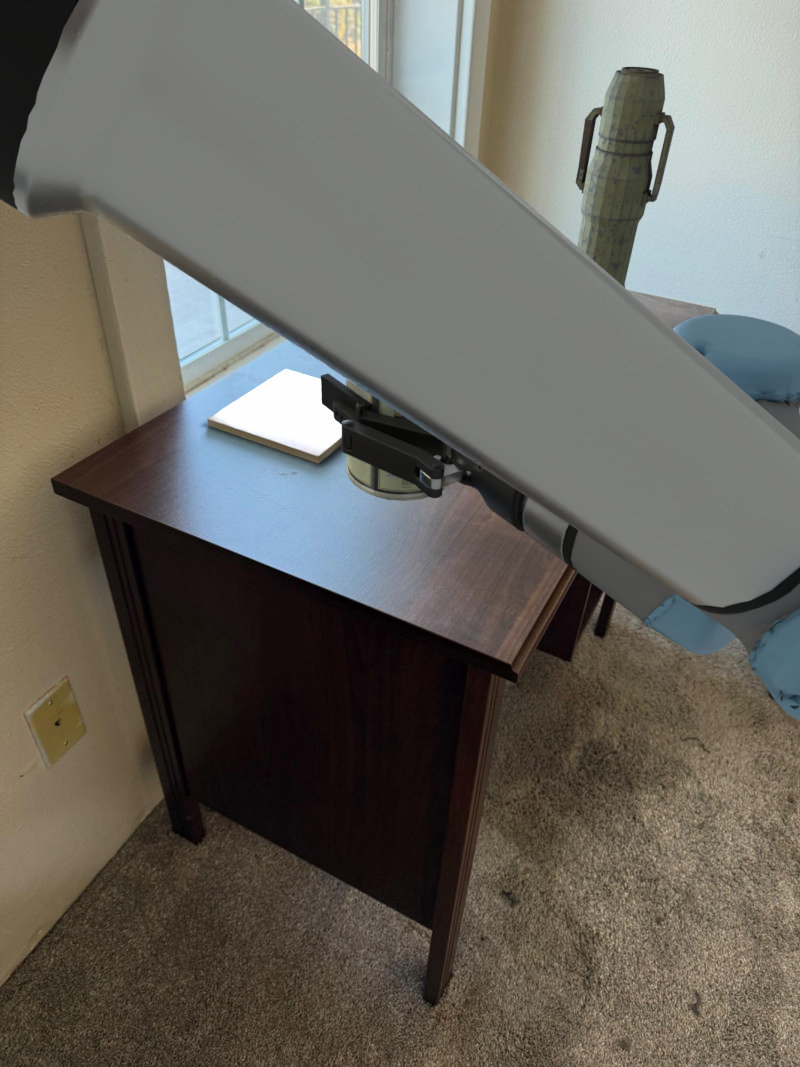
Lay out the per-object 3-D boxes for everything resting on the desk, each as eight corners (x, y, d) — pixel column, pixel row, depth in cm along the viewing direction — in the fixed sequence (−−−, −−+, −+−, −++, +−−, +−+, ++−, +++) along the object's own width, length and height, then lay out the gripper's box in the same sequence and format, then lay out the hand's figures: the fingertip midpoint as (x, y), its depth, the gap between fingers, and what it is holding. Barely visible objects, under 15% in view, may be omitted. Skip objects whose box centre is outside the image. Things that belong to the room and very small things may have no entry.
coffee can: (417, 431, 75) (425, 294, 66) (476, 482, 68) (494, 337, 60) (325, 456, 71) (321, 313, 62) (379, 514, 64) (383, 362, 55)
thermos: (558, 313, 122) (602, 61, 100) (631, 328, 118) (692, 70, 96) (542, 332, 115) (585, 68, 94) (618, 349, 112) (681, 77, 90)
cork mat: (318, 464, 84) (318, 456, 84) (208, 425, 90) (206, 418, 89) (388, 406, 95) (388, 399, 95) (285, 375, 101) (285, 368, 100)
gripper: (429, 590, 50) (267, 445, 64) (641, 484, 62) (465, 380, 75) (436, 500, 46) (260, 364, 59) (665, 403, 57) (472, 308, 70)
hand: (374, 373), depth 67 cm, fingers closed on coffee can, 10 cm apart
